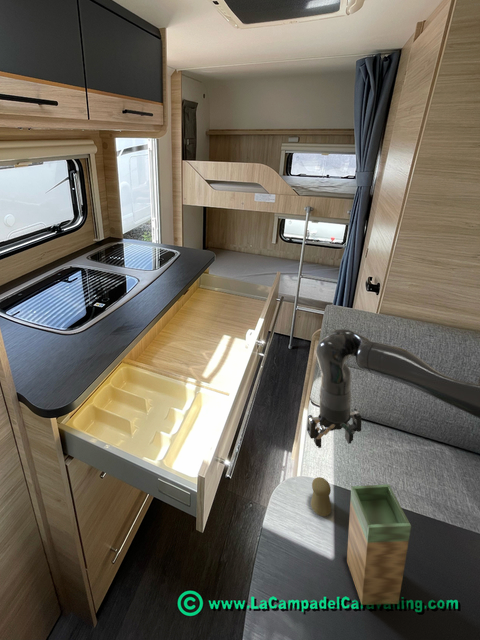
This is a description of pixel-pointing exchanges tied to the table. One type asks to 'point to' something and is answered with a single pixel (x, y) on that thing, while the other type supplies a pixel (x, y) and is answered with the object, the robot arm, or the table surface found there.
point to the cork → (321, 496)
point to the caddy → (377, 543)
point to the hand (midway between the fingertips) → (333, 443)
